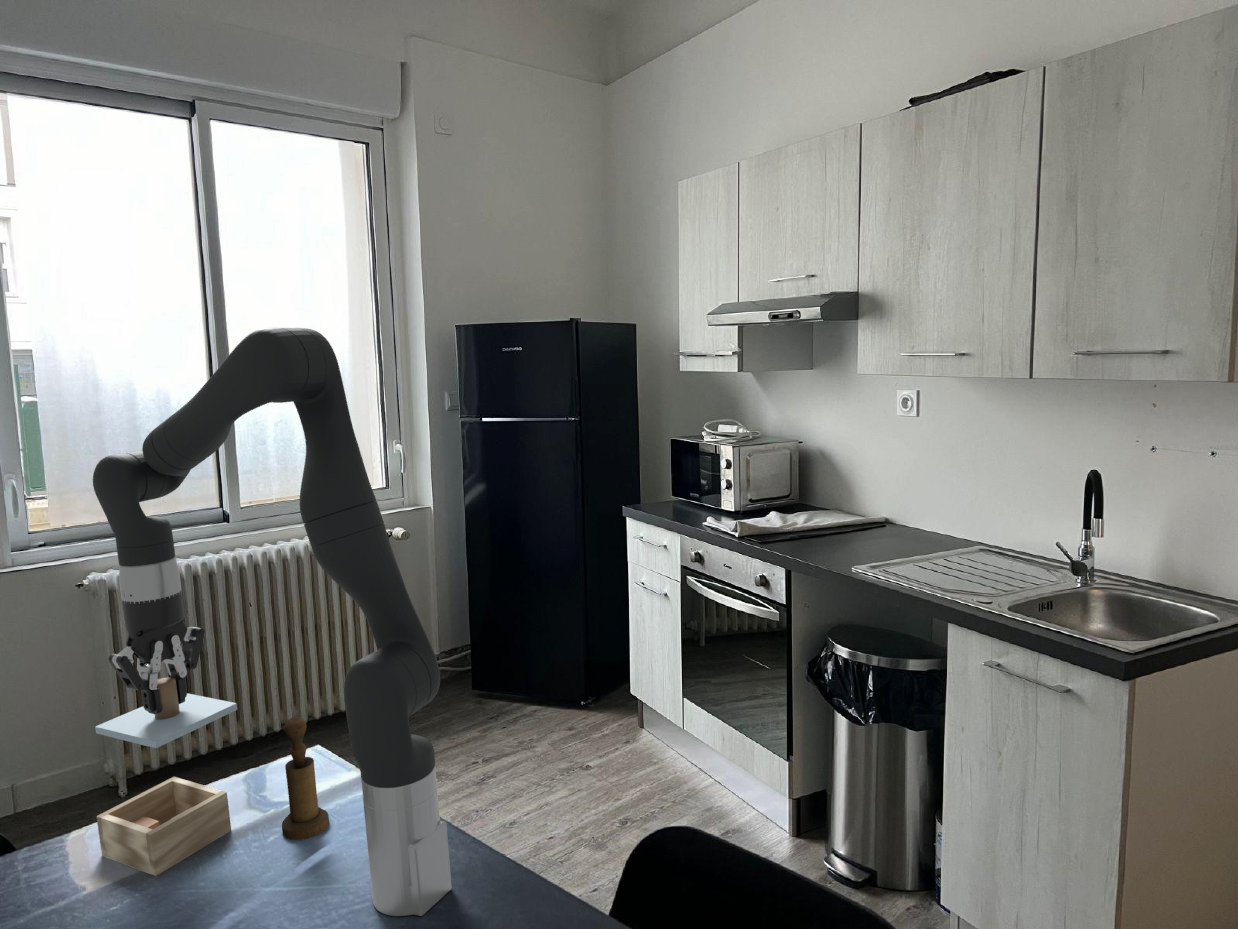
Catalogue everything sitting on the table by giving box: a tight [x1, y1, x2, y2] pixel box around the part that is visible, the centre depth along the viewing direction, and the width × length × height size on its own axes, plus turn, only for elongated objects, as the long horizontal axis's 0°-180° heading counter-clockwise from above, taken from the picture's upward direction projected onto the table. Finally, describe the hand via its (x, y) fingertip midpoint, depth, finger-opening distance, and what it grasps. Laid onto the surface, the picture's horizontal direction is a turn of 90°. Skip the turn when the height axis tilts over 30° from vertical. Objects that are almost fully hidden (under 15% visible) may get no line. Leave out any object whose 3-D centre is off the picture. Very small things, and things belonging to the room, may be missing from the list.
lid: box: [94, 676, 238, 749], centre depth 123 cm, size 13×13×6 cm
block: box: [132, 816, 160, 830], centre depth 123 cm, size 4×4×4 cm
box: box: [96, 776, 232, 877], centre depth 124 cm, size 12×12×7 cm
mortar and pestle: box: [281, 716, 330, 841], centre depth 125 cm, size 7×6×18 cm
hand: (166, 706), depth 123 cm, fingers closed on lid, 3 cm apart
